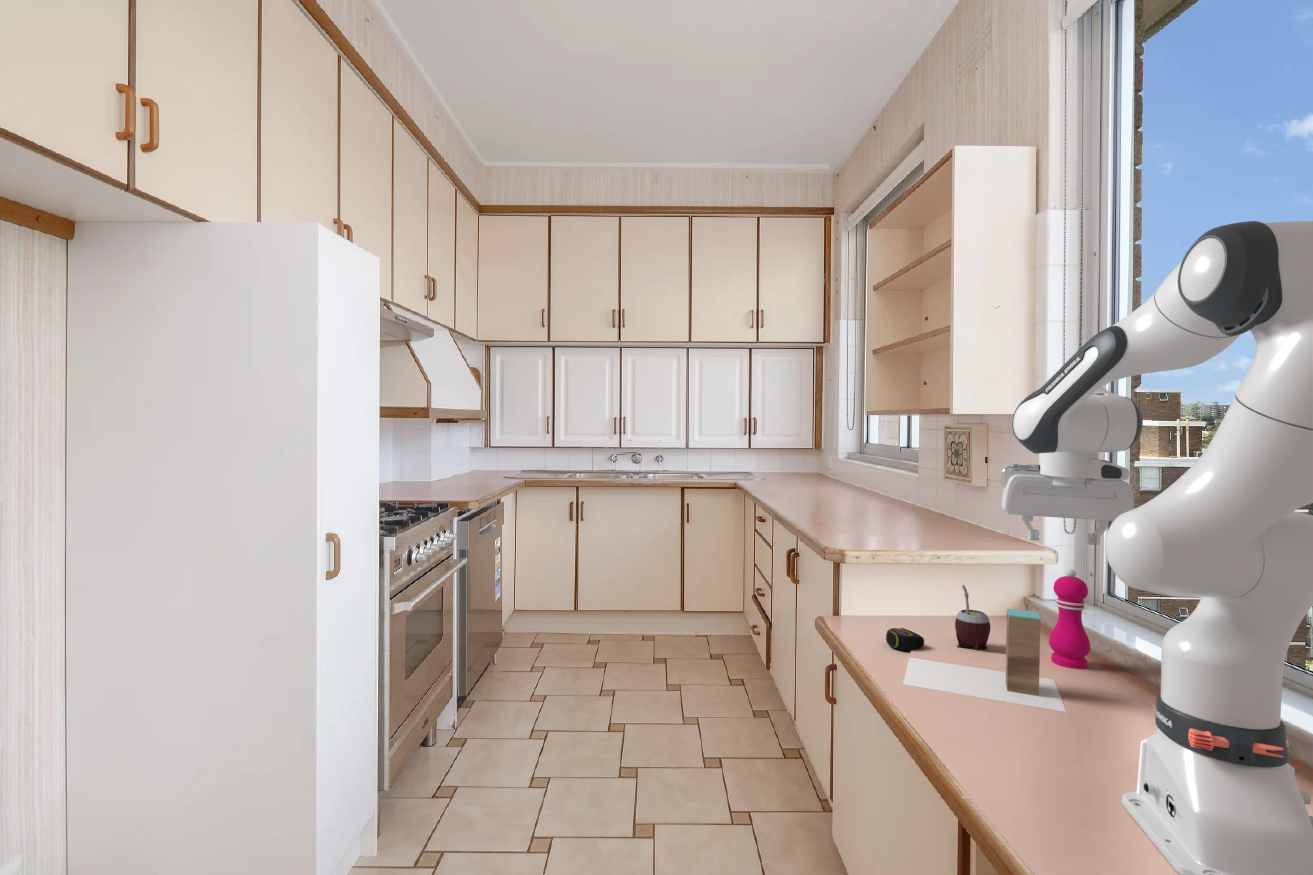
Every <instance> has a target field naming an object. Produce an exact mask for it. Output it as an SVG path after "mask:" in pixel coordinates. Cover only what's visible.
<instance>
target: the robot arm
mask: <svg viewBox="0 0 1313 875" xmlns="http://www.w3.org/2000/svg"><path fill="white" fill-rule="evenodd" d="M1249 331H1250V333H1251V334H1252V336H1253V338H1254V341H1255V343H1256V353H1255V355H1254V358H1253V361H1252V363H1251V365H1250V368H1249V369H1248V371H1247V373H1246V375H1245V376H1244V378H1243V379H1242V382H1241V383H1240V385H1239V388H1238V389H1237V391H1236V393H1235V395H1234V397H1233V400H1232V401H1231V403H1230V405H1229V407H1228V409H1227V411H1226V413H1225V415H1224V416H1223V418H1222V420H1221V422H1220V424H1219V426H1218V428H1217V430H1216V432H1215V433H1214V435H1213V437H1212V439H1211V441H1210V442H1209V444H1208V445H1207V447H1206V448H1205V450H1204V451H1203V452H1202V454H1201V455H1200V456H1199V457H1198V459H1197V460H1195V462H1194V463H1193V464H1192V466H1190V467H1189V469H1187V470H1186V471H1185V472H1184V473H1183V474H1182V475H1181V476H1180V477H1179V478H1178V479H1176V480H1175V482H1173V483H1172V484H1171V485H1169V487H1168V488H1166V489H1164V491H1162V492H1161V493H1159V494H1158V495H1156V496H1155V497H1153V498H1152V499H1150V500H1148V501H1147V502H1145V503H1143V504H1142V505H1139V506H1138V507H1137V506H1136V507H1135V498H1134V491H1133V488H1132V486H1131V484H1130V483H1129V482H1128V481H1127V480H1128V479H1129V478H1130V477H1129V476H1130V470H1129V469H1128V468H1126V467H1124V466H1121V465H1119V464H1115V463H1112V462H1111V461H1108V460H1106V459H1099V457H1098V453H1117V452H1124V451H1127V450H1129V449H1130V448H1132V447H1133V446H1134V445H1135V444H1136V443H1137V441H1138V440H1139V438H1140V436H1141V434H1142V432H1143V426H1144V425H1143V423H1144V422H1143V420H1144V419H1143V415H1142V414H1143V413H1142V411H1141V409H1140V407H1139V406H1138V404H1137V403H1136V402H1135V401H1133V400H1132V398H1130V397H1128V396H1122V395H1119V394H1117V393H1113V392H1111V391H1109V390H1108V389H1106V388H1104V387H1103V386H1105V385H1108V384H1109V383H1112V382H1115V381H1118V380H1121V379H1125V378H1129V377H1134V376H1139V375H1146V374H1153V373H1159V372H1166V371H1167V372H1168V371H1175V370H1182V369H1188V368H1192V367H1196V366H1198V365H1201V364H1204V363H1205V362H1207V361H1209V360H1211V359H1212V358H1214V357H1215V356H1217V355H1219V354H1220V353H1222V352H1223V351H1224V350H1226V349H1227V348H1228V347H1230V346H1231V345H1232V344H1233V343H1234V342H1235V341H1236V340H1237V339H1238V338H1239V337H1240V336H1241V335H1242V334H1245V333H1247V332H1249ZM1011 423H1012V424H1011V426H1012V427H1011V428H1012V434H1014V437H1015V438H1016V440H1017V441H1018V442H1019V443H1020V444H1021V445H1022V446H1023V447H1024V448H1025V449H1026V450H1028V451H1030V452H1031V453H1032V454H1034V455H1035V454H1039V455H1038V456H1039V457H1038V464H1019V463H1013V464H1011V465H1009V466H1007V467H1005V468H1004V469H1003V470H1002V471H1001V484H1002V486H1003V491H1002V495H1001V507H1000V508H1001V509H1002V510H1003V512H1004V513H1006V514H1007V515H1016V516H1022V517H1021V520H1022V522H1023V523H1024V525H1025V526H1026V529H1027V531H1028V532H1027V538H1028V540H1029V541H1039V540H1040V537H1039V536H1040V530H1039V529H1036V528H1035V529H1034V528H1033V526H1032V524H1031V522H1034V517H1047V518H1059V519H1079V520H1088V521H1089V520H1092V521H1093V520H1094V521H1095V525H1097V527H1096V529H1095V530H1094V531H1093V533H1090V532H1089V533H1087V539H1086V541H1087V544H1088V545H1090V546H1091V545H1093V546H1100V543H1101V536H1103V534H1104V533H1105V532H1106V531H1107V532H1106V534H1105V539H1104V540H1105V541H1104V550H1105V551H1104V552H1105V557H1106V560H1107V562H1108V564H1109V566H1110V568H1111V570H1112V571H1113V573H1114V574H1115V575H1116V577H1117V578H1118V579H1119V580H1120V581H1121V582H1122V583H1124V584H1125V585H1127V586H1128V587H1130V588H1132V589H1136V590H1141V591H1144V592H1149V593H1153V594H1158V595H1163V596H1168V597H1172V598H1173V597H1174V598H1175V597H1176V598H1200V600H1199V602H1198V604H1197V606H1196V607H1195V609H1194V610H1193V611H1192V613H1190V615H1189V616H1187V617H1186V618H1185V619H1184V620H1182V621H1181V622H1179V623H1177V624H1176V625H1174V626H1173V627H1171V628H1170V629H1169V630H1168V631H1167V632H1166V633H1165V634H1164V637H1163V639H1162V642H1161V666H1160V667H1161V668H1160V671H1161V672H1160V693H1159V694H1158V695H1157V696H1156V699H1155V700H1156V702H1155V705H1154V714H1155V721H1154V722H1155V725H1156V727H1157V728H1156V729H1155V731H1154V732H1152V733H1151V734H1150V735H1149V736H1148V737H1146V738H1143V739H1142V740H1141V742H1140V748H1139V758H1138V759H1139V760H1138V761H1139V762H1138V772H1137V786H1136V790H1135V791H1130V792H1129V791H1127V792H1125V793H1123V794H1122V796H1121V804H1122V806H1123V807H1124V809H1126V811H1127V812H1128V813H1129V814H1130V815H1131V817H1132V818H1133V819H1134V820H1135V822H1136V823H1137V825H1139V826H1140V828H1141V829H1142V830H1143V831H1144V833H1145V834H1146V835H1147V836H1148V838H1150V839H1149V840H1151V842H1153V844H1154V845H1155V846H1156V848H1158V850H1159V851H1160V852H1161V853H1162V855H1163V856H1164V857H1165V858H1166V859H1167V861H1168V862H1169V863H1170V865H1171V866H1172V868H1174V869H1175V871H1177V872H1178V874H1180V875H1313V816H1311V815H1309V813H1308V809H1307V807H1306V805H1311V803H1312V799H1311V793H1310V792H1309V791H1306V790H1303V789H1300V786H1299V783H1298V781H1297V778H1296V775H1295V768H1294V767H1293V766H1292V765H1291V764H1290V763H1289V762H1290V755H1289V754H1290V753H1289V745H1290V744H1289V737H1288V735H1287V732H1286V731H1287V730H1286V725H1285V723H1284V722H1283V720H1281V717H1282V716H1281V712H1282V695H1283V693H1282V692H1283V681H1284V680H1283V679H1284V668H1285V660H1286V657H1287V654H1288V650H1289V648H1290V645H1291V642H1292V640H1293V637H1294V636H1295V634H1296V631H1297V630H1298V628H1299V626H1300V624H1301V623H1302V621H1303V619H1304V618H1305V616H1306V615H1307V614H1308V612H1309V610H1310V609H1312V607H1313V515H1312V514H1308V513H1305V512H1304V513H1303V512H1300V511H1296V510H1298V509H1301V508H1303V507H1306V506H1308V505H1310V504H1313V220H1299V221H1297V220H1294V221H1291V220H1289V221H1288V220H1287V221H1275V222H1274V221H1273V222H1272V221H1270V222H1261V221H1257V220H1250V221H1249V220H1247V221H1239V222H1234V223H1233V222H1232V223H1228V224H1223V225H1220V226H1216V227H1214V228H1211V229H1208V230H1207V231H1205V232H1204V233H1203V234H1201V236H1199V237H1198V238H1197V239H1196V240H1195V241H1194V243H1193V244H1192V245H1191V246H1190V247H1189V248H1188V250H1187V251H1186V253H1185V255H1184V257H1183V258H1182V261H1180V262H1179V264H1178V265H1177V266H1175V267H1174V269H1173V270H1172V271H1171V272H1170V273H1169V274H1168V275H1167V276H1166V278H1165V279H1164V280H1163V281H1162V283H1161V284H1159V286H1158V287H1157V289H1156V290H1155V291H1153V294H1151V296H1149V297H1148V299H1147V300H1146V301H1144V302H1143V303H1142V304H1141V305H1139V306H1138V307H1137V308H1135V310H1133V311H1132V312H1130V313H1129V314H1128V315H1126V316H1125V317H1124V318H1122V319H1120V320H1119V321H1117V322H1116V323H1114V324H1112V325H1111V326H1108V327H1107V328H1105V329H1102V330H1101V331H1099V332H1097V333H1096V334H1095V335H1093V336H1092V337H1091V338H1090V339H1088V340H1087V342H1085V343H1084V344H1083V345H1082V346H1081V347H1080V348H1079V349H1078V350H1077V351H1076V352H1075V353H1074V354H1072V356H1071V357H1070V358H1069V359H1068V360H1067V361H1066V362H1065V363H1064V364H1063V365H1062V366H1061V367H1060V368H1059V369H1058V370H1057V371H1056V372H1055V373H1054V374H1053V375H1052V376H1051V377H1050V379H1048V380H1047V381H1046V382H1045V383H1044V384H1043V385H1042V386H1041V387H1040V388H1038V389H1037V390H1036V391H1032V393H1029V395H1027V396H1026V397H1025V398H1024V399H1023V400H1022V401H1021V402H1020V403H1018V405H1017V407H1016V408H1015V411H1014V412H1013V416H1012V422H1011ZM1109 522H1112V523H1110V525H1109ZM1107 529H1108V530H1107Z"/></svg>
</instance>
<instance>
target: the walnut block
mask: <svg viewBox="0 0 1313 875" xmlns="http://www.w3.org/2000/svg"><path fill="white" fill-rule="evenodd" d="M1005 639H1006V646H1005V647H1006V648H1005V672H1006V686H1007V691H1010V692H1016V693H1022V694H1028V695H1035V696H1039V677H1040V661H1041V660H1040V657H1041V654H1040V652H1041V616H1040V614H1039V612H1038V611H1032V610H1026V609H1016V608H1008V607H1007V608H1006V638H1005Z"/></svg>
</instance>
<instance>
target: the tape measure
mask: <svg viewBox="0 0 1313 875" xmlns="http://www.w3.org/2000/svg"><path fill="white" fill-rule="evenodd" d="M885 635H886V636H885V641H886V644H887V645H889V646H890V647H892V648H895V649H897V650H899V651H902V650H903V651H913V650H918V649H921V648H922V647H924V645H925V639H924V637H923V636H921V635H920V634H918V633H916V632H914V631H912V630H909V629H907V628H904V627H900V628H898V627H897V628H896V627H891V628H889V629H888V630H887V631H886V634H885Z"/></svg>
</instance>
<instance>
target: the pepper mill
mask: <svg viewBox="0 0 1313 875" xmlns="http://www.w3.org/2000/svg"><path fill="white" fill-rule="evenodd" d="M1065 574H1066V575H1065V576H1060V577H1059V578H1057V579H1056V580H1055V581H1054V583H1053V592H1054V594H1055V595H1056V596H1057V598H1056V599H1055V602H1056V604H1055V605H1056V606H1057V608H1058V609H1057V610H1058V617H1057V618H1058V619H1057V621H1056V623H1055V626H1054V628H1053V629H1052V631H1051V632H1050V634H1049V638H1048V645H1049V646H1050V648H1051V650H1052V651H1053V653H1051V663H1053V664H1055V665H1057V666H1059V667H1064V668H1066V669H1067V668H1068V669H1072V670H1073V669H1074V670H1084V669H1087V668H1088V660H1087V659H1086V656H1087V655H1089V654H1090V651H1091V641H1090V639H1089V636H1088V634H1087V633H1086V630H1085V627H1084V626H1083V621H1082V619H1083V618H1082V614H1083V613H1082V612H1083V611H1084V610H1085V609H1086V608H1085V604H1086V602H1085V601H1084V600H1085V599H1086V598H1087V596H1088V595H1089V589H1088V585H1087V584H1086V583H1085V582H1084V580H1082V579H1081V578H1079V577H1076V575H1077V572H1076V570H1074V569H1072V568H1069V569H1067V570H1065Z"/></svg>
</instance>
